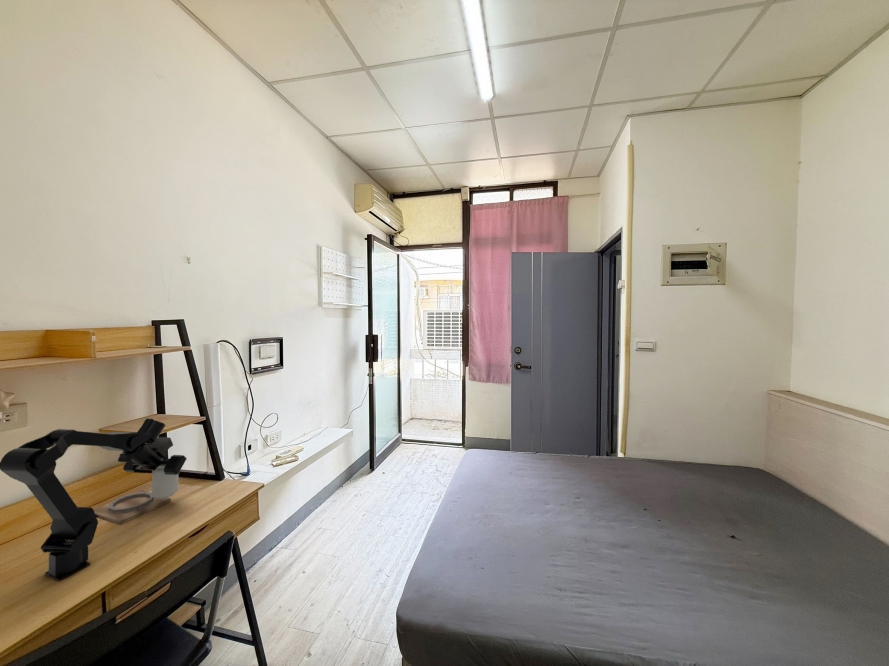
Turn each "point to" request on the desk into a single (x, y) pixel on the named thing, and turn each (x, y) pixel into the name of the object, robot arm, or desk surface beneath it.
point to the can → (163, 483)
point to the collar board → (127, 504)
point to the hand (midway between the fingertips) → (168, 472)
